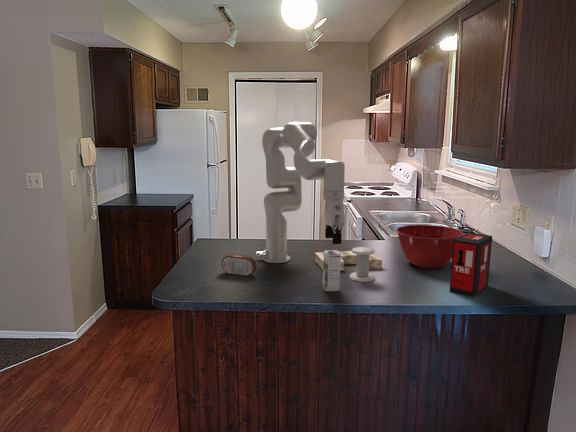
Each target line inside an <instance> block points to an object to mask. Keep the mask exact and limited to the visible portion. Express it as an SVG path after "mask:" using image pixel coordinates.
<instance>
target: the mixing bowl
mask: <svg viewBox="0 0 576 432" xmlns="http://www.w3.org/2000/svg"><path fill="white" fill-rule="evenodd" d="M396 232H397V236H398V240H399V245H400V247H401V249H402V252H403V254H404V257H405V258H406V259H407V261H409V262H410V263H411V264H412V265H414V266H416V267H420V268H426V269H437V268H442V267H443V266H445V265H447V264H448V263H449V262H450V261H452V253H453V240H454V239H456V238H458V237H460V236H462V235H464V232H463V231H461V230H459V229H457V228H453V227H450V226H449V227H448V226H442V225H433V224H430V225H429V224H411V225H403V226H399V227H398V228H397V229H396Z"/></svg>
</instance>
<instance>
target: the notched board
mask: <svg viewBox="0 0 576 432" xmlns="http://www.w3.org/2000/svg"><path fill="white" fill-rule="evenodd" d="M338 251H339V250H338ZM339 252H340V254H341V265H340V272H342V271H345V265H356V261H357V254H355V253H353V252H352V250H343V251H341V250H340V251H339ZM314 263H316V264H317V266H319V268H320V269H321V270H322V271H323V264H324V251H323V252H322V251H321V252H320V251H319V252H314ZM382 266H383V259H382V258H381V257H379V256H378V255H376V254H375V253H374V254H371V255H369V270H378V269H382V268H383V267H382Z"/></svg>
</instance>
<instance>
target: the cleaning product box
mask: <svg viewBox="0 0 576 432" xmlns="http://www.w3.org/2000/svg"><path fill="white" fill-rule="evenodd" d="M492 245H493V235H490V234H489V235H488V234H482V233H475V232H467V233H465V234H464V233H463V235H462V236H460V237H458V238H456V239H454V240H453V253H452V259H451V267H450V270H451V271H450V282H449V293H452V294H457V295H460V296H461V295H462V296H465V297H471V298H475V297H476V296H478V295H479V294H480V293H481V292H482V291H484V290H485V289H486V288H487V287H488V286H489V279H490V278H489V276H490V267H491V266H490V265H491V255H492V247H493V246H492Z"/></svg>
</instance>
